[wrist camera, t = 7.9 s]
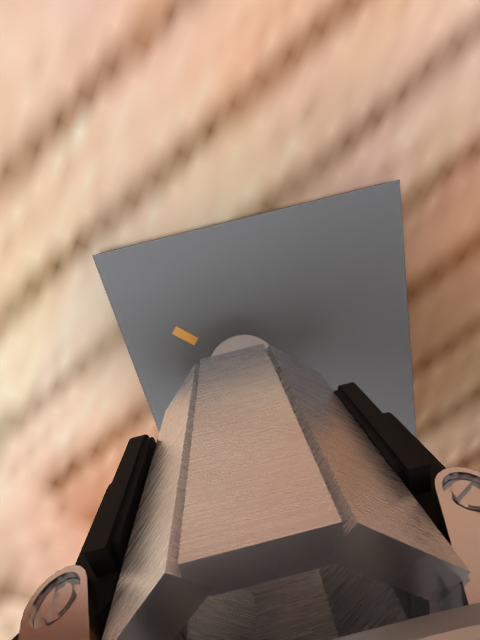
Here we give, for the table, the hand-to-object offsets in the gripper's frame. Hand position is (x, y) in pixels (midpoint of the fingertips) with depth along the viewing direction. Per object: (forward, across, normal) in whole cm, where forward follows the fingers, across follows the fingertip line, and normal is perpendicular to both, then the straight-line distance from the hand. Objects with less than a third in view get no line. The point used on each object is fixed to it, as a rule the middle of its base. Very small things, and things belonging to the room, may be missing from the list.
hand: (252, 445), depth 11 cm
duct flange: (+8, -2, 0) cm, 8 cm away
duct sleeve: (+1, 0, 0) cm, 1 cm away
